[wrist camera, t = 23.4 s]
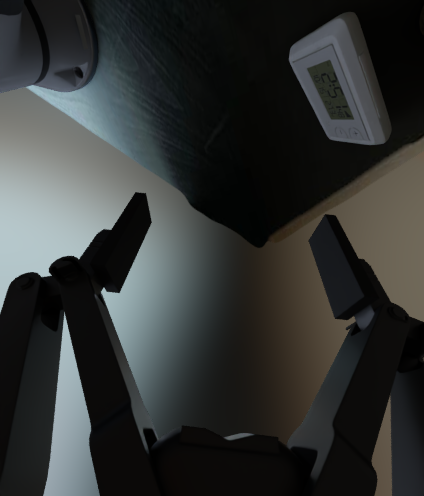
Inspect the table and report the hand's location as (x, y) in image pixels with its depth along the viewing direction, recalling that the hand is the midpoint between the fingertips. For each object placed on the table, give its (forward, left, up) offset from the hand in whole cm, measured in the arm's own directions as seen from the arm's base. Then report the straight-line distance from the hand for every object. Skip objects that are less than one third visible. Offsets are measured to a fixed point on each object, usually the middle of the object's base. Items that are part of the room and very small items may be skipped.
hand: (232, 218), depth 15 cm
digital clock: (+13, +5, -29) cm, 33 cm away
